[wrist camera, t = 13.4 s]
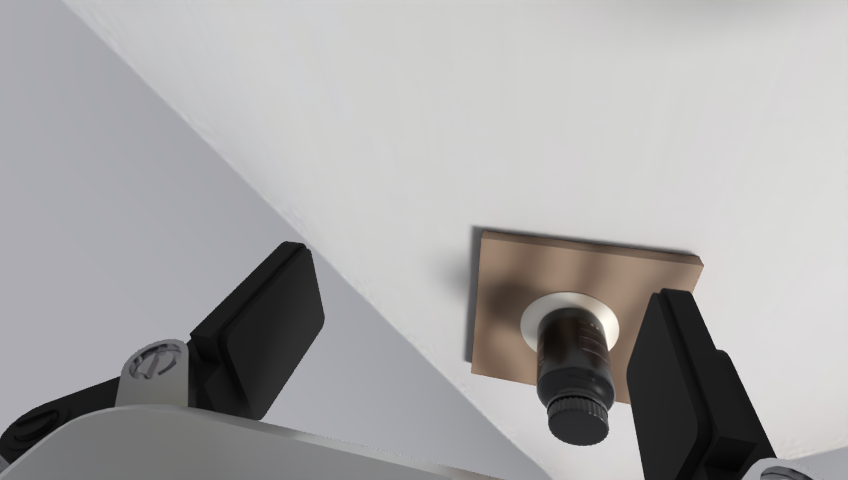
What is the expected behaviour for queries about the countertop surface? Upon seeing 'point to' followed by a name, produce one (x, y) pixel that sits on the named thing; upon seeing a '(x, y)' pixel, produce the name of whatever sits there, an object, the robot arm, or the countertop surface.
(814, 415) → the countertop surface
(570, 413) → the supplement bottle
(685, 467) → the robot arm
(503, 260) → the walnut board
